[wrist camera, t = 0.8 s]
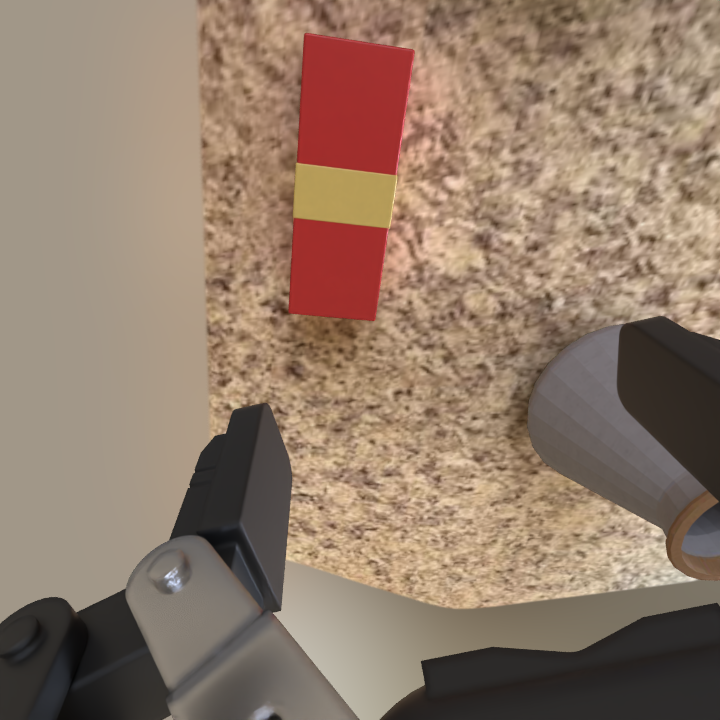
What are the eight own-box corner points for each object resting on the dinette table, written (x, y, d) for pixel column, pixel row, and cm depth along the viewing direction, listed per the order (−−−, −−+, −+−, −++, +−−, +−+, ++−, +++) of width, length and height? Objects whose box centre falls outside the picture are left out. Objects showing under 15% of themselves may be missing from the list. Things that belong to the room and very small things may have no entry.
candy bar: (306, 45, 22) (302, 31, 19) (402, 60, 23) (417, 49, 19) (292, 288, 28) (287, 314, 24) (369, 295, 28) (376, 322, 24)
